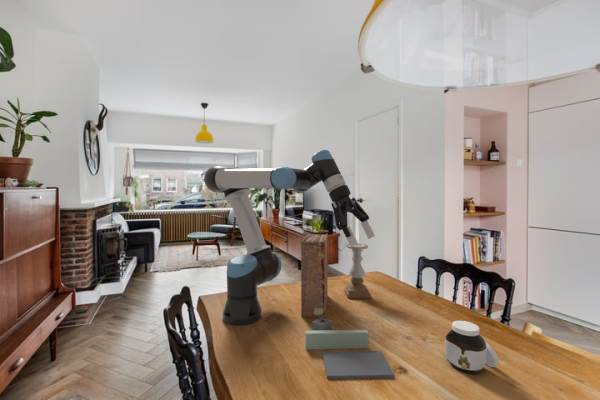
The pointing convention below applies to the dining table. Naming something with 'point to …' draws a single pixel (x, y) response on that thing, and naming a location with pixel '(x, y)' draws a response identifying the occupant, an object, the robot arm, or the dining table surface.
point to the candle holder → (357, 275)
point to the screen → (336, 339)
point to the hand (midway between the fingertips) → (363, 241)
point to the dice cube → (322, 324)
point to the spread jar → (468, 348)
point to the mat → (356, 364)
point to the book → (314, 275)
